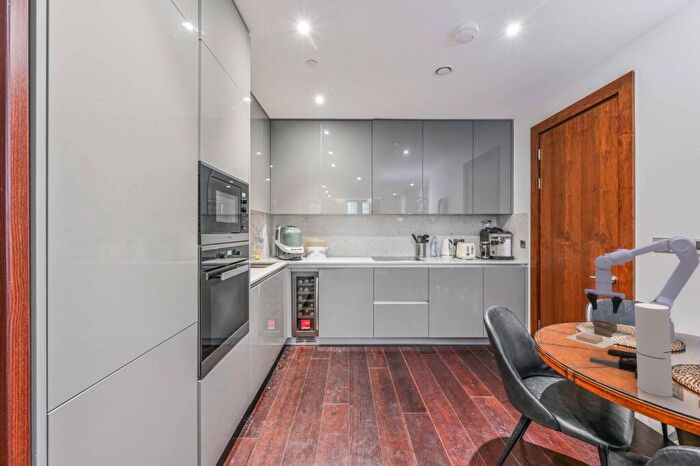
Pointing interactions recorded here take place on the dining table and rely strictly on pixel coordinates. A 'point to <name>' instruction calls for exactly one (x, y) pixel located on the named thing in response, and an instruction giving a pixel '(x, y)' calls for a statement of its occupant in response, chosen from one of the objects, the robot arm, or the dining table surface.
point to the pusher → (604, 328)
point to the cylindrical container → (653, 349)
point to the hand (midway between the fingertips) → (604, 311)
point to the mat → (602, 344)
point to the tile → (589, 338)
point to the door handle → (621, 363)
